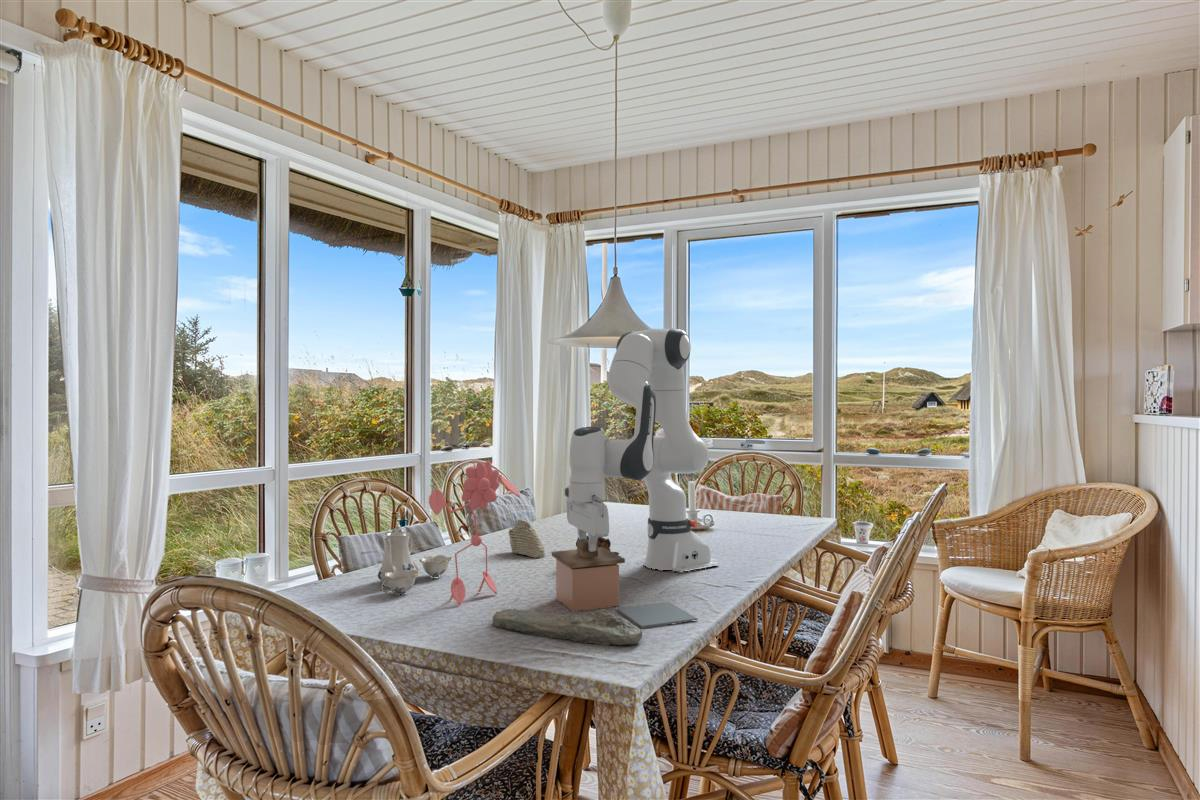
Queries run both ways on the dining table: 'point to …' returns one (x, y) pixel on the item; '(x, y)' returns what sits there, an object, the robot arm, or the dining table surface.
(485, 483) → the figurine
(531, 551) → the fossil tooth
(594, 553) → the walnut lid
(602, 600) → the terracotta box
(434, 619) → the dining table surface
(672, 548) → the robot arm
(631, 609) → the grey mat
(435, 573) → the chinaware
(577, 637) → the long grey stone
